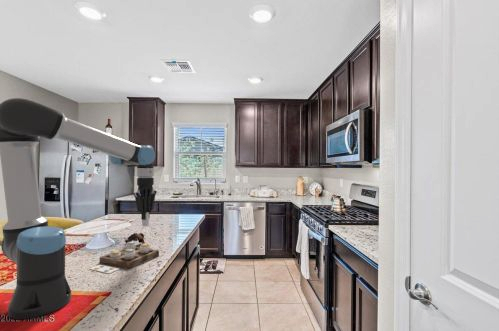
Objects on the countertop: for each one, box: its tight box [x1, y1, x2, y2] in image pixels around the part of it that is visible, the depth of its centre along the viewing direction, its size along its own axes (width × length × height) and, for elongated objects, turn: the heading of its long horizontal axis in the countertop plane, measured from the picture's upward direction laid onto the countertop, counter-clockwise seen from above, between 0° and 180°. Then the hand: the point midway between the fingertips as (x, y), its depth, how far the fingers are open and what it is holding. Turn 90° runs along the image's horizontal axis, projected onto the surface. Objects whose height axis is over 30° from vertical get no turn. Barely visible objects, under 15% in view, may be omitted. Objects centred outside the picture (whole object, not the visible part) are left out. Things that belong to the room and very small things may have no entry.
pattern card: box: [88, 264, 120, 275], centre depth 107 cm, size 5×12×1 cm, turn 67°
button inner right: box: [124, 249, 135, 260], centre depth 114 cm, size 4×4×4 cm
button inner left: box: [109, 250, 121, 258], centre depth 117 cm, size 4×4×4 cm
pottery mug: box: [124, 232, 146, 246], centre depth 141 cm, size 12×10×8 cm
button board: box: [99, 246, 160, 269], centre depth 119 cm, size 18×18×2 cm
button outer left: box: [125, 240, 137, 250], centre depth 125 cm, size 4×4×4 cm
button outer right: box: [139, 242, 151, 254], centre depth 122 cm, size 4×4×4 cm
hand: (145, 225), depth 122 cm, fingers closed
